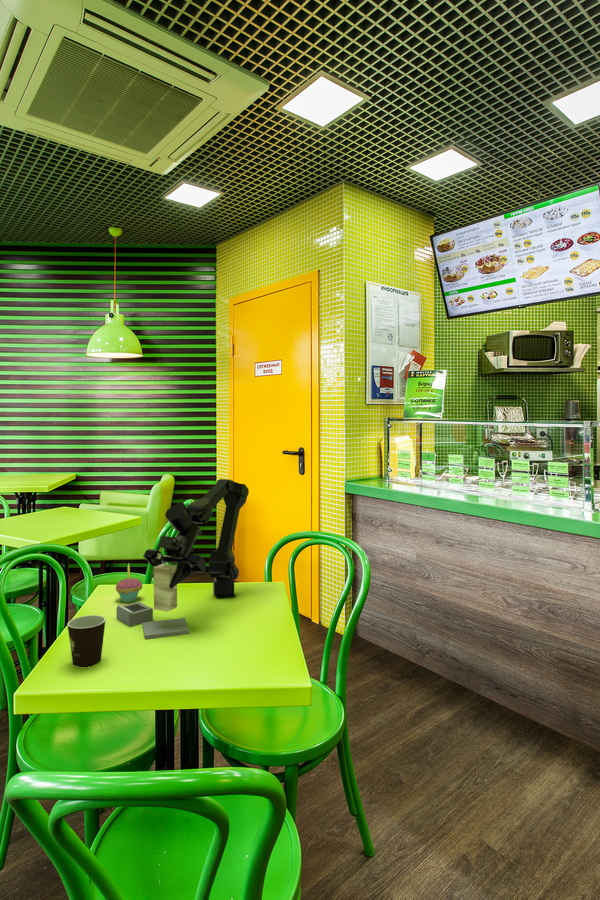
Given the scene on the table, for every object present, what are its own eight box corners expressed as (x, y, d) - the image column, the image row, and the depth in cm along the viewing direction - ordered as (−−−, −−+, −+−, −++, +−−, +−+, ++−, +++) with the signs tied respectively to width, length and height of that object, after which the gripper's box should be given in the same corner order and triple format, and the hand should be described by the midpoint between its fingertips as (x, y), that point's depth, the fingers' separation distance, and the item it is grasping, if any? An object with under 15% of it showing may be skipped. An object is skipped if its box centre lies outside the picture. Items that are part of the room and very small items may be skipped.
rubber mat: (184, 621, 154) (184, 617, 154) (189, 633, 145) (189, 630, 145) (142, 625, 150) (142, 622, 150) (144, 639, 141) (144, 635, 141)
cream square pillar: (162, 604, 150) (162, 563, 150) (177, 607, 148) (176, 565, 148) (153, 609, 146) (153, 567, 146) (168, 611, 145) (168, 569, 144)
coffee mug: (104, 667, 124) (104, 626, 124) (65, 671, 122) (64, 630, 121) (107, 647, 135) (107, 609, 135) (72, 651, 133) (71, 612, 133)
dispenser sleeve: (139, 612, 161) (139, 599, 161) (152, 620, 155) (152, 605, 155) (116, 618, 156) (116, 604, 155) (129, 626, 150) (129, 611, 149)
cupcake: (114, 597, 175) (114, 562, 174) (140, 594, 178) (140, 560, 178) (117, 605, 167) (117, 568, 167) (144, 602, 171) (144, 566, 170)
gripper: (147, 522, 153) (121, 568, 144) (201, 526, 147) (178, 575, 137) (163, 542, 161) (140, 588, 151) (215, 548, 154) (195, 596, 145)
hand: (162, 586), depth 146 cm, fingers closed on cream square pillar, 5 cm apart
